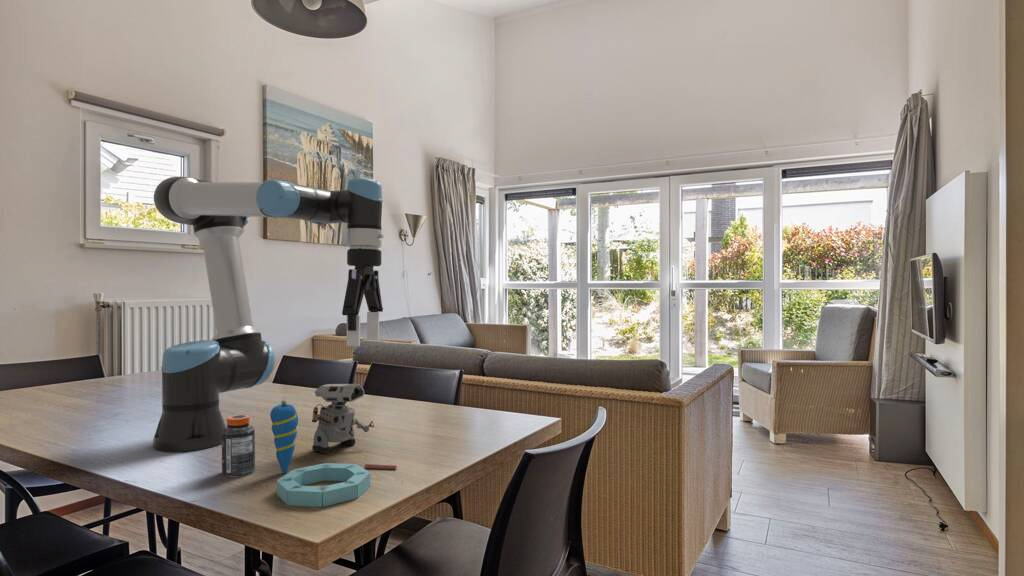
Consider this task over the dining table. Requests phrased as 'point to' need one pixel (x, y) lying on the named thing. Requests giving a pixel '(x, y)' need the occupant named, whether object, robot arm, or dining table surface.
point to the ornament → (284, 432)
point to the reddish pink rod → (380, 466)
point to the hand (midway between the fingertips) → (363, 342)
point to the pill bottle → (238, 447)
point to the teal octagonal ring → (318, 496)
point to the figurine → (336, 416)
